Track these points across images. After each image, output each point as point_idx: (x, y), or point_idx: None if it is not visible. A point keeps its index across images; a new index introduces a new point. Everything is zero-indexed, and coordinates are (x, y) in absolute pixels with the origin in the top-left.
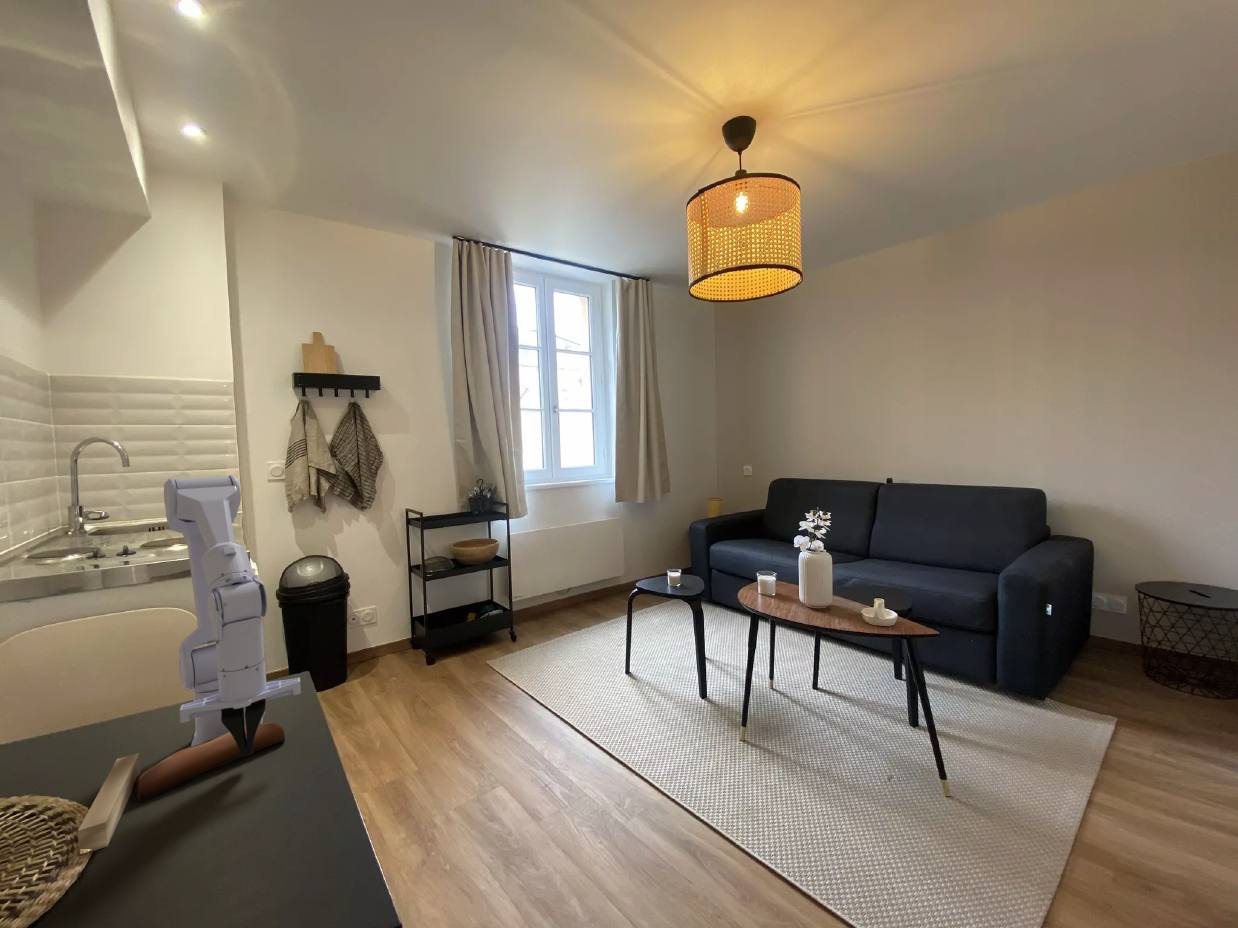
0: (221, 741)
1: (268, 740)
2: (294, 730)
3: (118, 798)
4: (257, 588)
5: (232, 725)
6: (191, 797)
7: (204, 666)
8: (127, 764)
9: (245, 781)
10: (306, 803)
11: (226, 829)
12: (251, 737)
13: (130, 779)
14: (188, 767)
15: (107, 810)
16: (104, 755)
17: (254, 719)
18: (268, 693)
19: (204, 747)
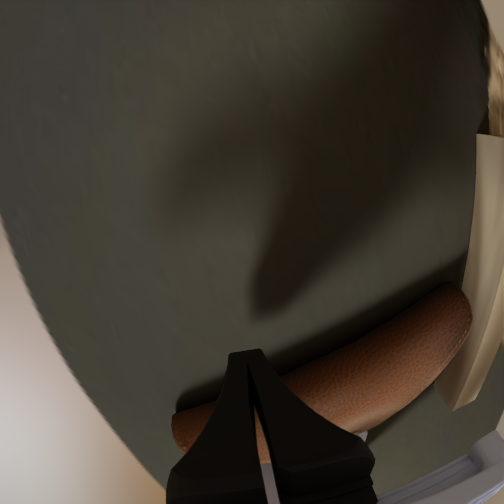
0: None
1: (205, 415)
2: (167, 442)
3: (500, 254)
4: None
5: (315, 434)
6: (364, 249)
7: None
8: (472, 379)
9: (234, 265)
10: (39, 49)
11: (241, 11)
12: (230, 392)
13: (467, 343)
14: (389, 348)
15: None
16: (450, 429)
17: (214, 452)
18: None
19: (363, 406)
